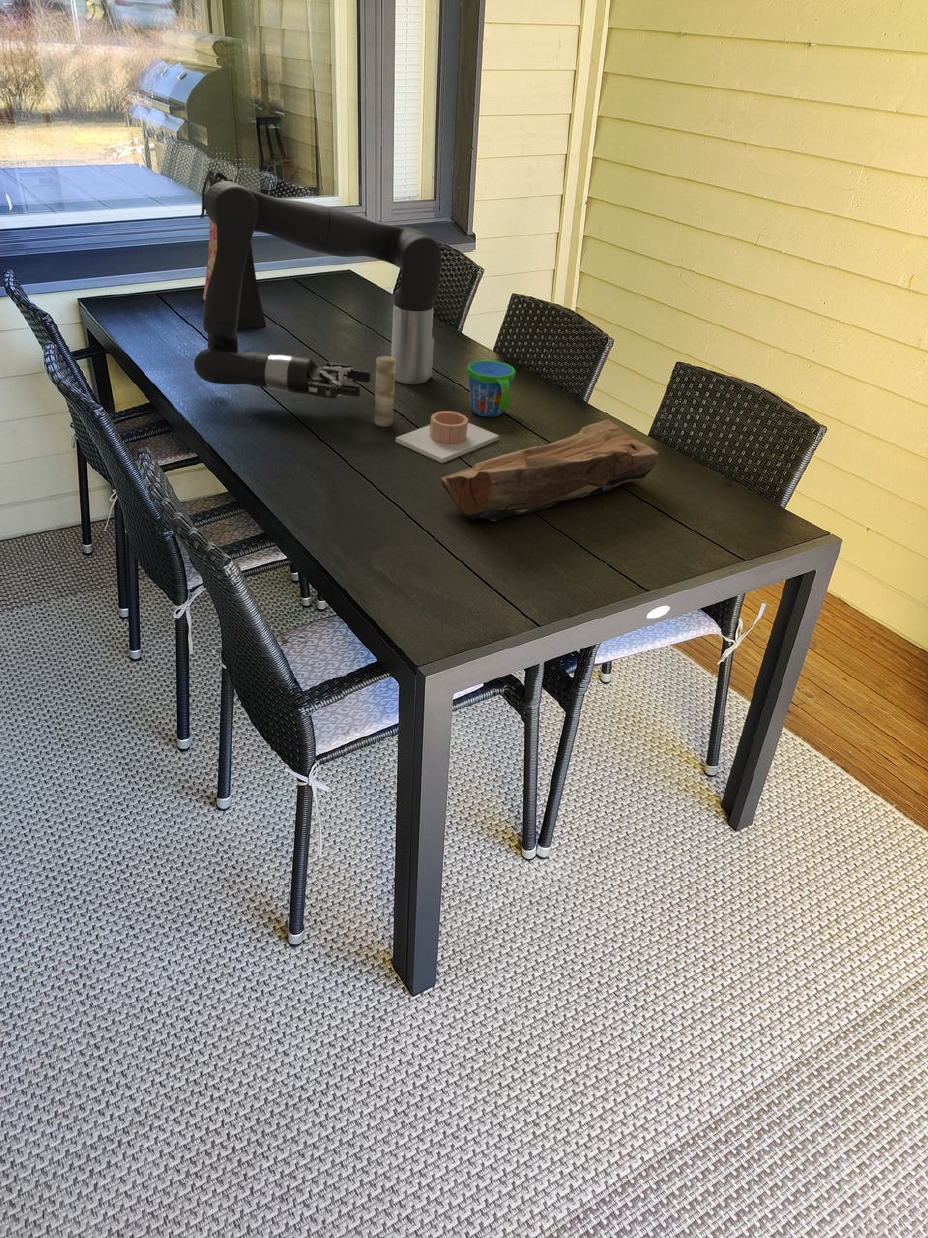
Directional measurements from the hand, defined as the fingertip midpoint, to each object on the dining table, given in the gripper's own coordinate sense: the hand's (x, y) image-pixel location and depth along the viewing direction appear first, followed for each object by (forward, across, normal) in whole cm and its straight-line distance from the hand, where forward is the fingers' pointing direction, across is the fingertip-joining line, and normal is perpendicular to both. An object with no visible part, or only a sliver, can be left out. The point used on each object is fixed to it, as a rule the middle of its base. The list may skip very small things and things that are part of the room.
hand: (365, 384), depth 207 cm
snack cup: (+25, +14, +8) cm, 30 cm away
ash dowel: (+4, 0, +8) cm, 9 cm away
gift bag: (-50, +56, +8) cm, 75 cm away
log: (+42, -23, +9) cm, 48 cm away
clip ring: (+19, -4, +7) cm, 21 cm away
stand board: (+19, -4, +8) cm, 21 cm away
